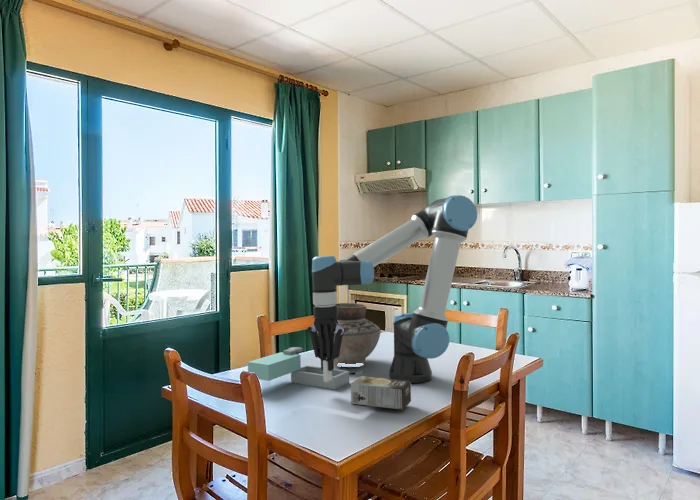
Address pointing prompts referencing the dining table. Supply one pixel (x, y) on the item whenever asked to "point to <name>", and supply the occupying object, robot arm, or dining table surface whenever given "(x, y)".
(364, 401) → the coffee box
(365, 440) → the dining table surface
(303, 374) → the grey box
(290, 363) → the lid
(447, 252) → the robot arm
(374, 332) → the ceramic pot
